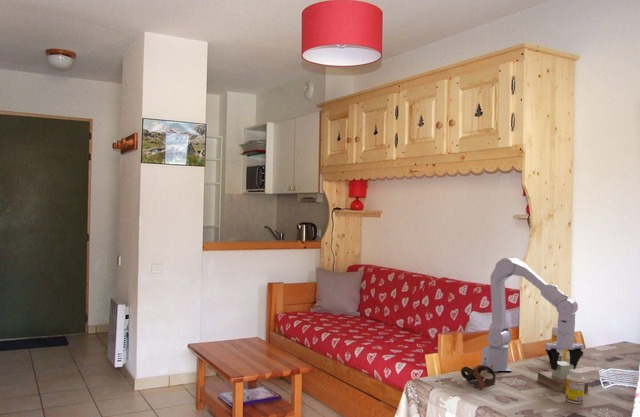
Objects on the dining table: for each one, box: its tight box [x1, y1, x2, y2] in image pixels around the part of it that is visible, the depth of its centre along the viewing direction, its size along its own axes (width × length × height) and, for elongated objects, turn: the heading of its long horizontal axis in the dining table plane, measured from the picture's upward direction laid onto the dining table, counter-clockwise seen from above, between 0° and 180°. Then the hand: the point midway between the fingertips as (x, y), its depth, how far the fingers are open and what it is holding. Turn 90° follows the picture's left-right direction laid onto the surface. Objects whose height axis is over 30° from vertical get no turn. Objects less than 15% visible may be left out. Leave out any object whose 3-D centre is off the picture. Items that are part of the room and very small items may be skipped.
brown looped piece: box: [460, 364, 497, 391], centre depth 195 cm, size 12×10×8 cm
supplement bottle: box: [564, 368, 586, 405], centre depth 185 cm, size 6×6×10 cm
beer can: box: [550, 325, 568, 362], centre depth 230 cm, size 6×6×15 cm
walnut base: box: [537, 371, 589, 392], centre depth 201 cm, size 12×12×3 cm
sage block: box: [551, 361, 574, 380], centre depth 201 cm, size 5×5×5 cm
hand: (563, 369), depth 200 cm, fingers open, 7 cm apart
